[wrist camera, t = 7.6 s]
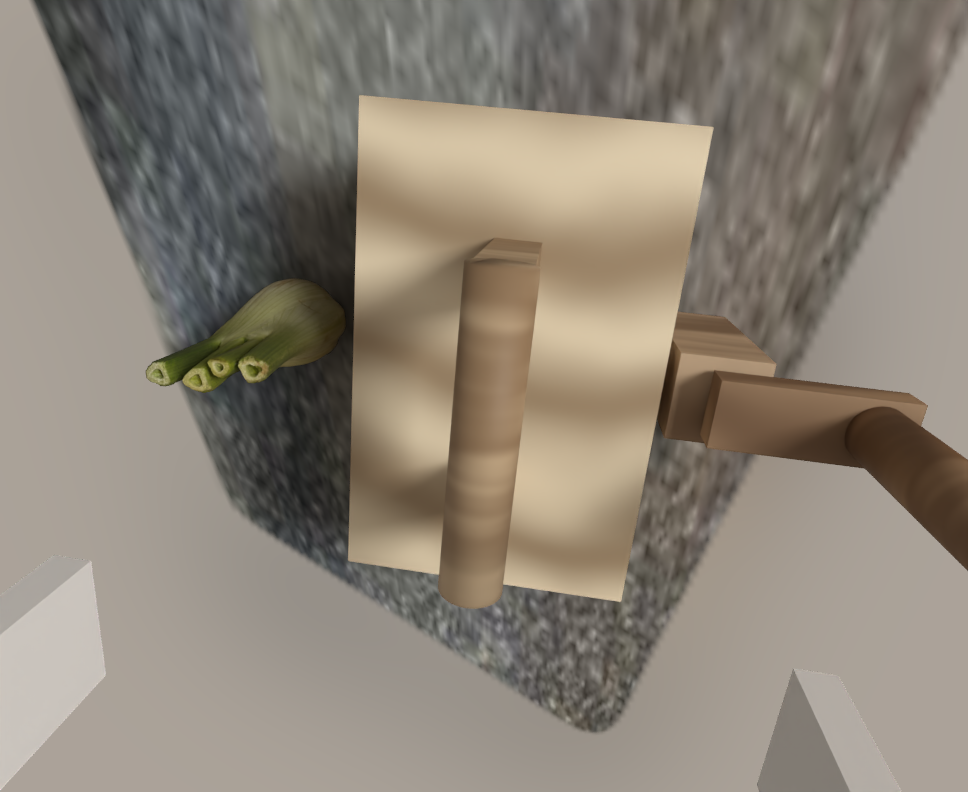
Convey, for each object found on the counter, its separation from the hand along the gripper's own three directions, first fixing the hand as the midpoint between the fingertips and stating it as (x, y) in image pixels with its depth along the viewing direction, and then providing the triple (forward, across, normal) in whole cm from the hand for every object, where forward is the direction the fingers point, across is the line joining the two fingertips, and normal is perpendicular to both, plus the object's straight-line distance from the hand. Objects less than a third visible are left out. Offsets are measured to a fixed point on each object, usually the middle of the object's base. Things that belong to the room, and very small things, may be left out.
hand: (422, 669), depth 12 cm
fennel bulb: (+28, -13, 0) cm, 31 cm away
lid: (+20, 0, 0) cm, 20 cm away
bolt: (+18, +13, 0) cm, 22 cm away
